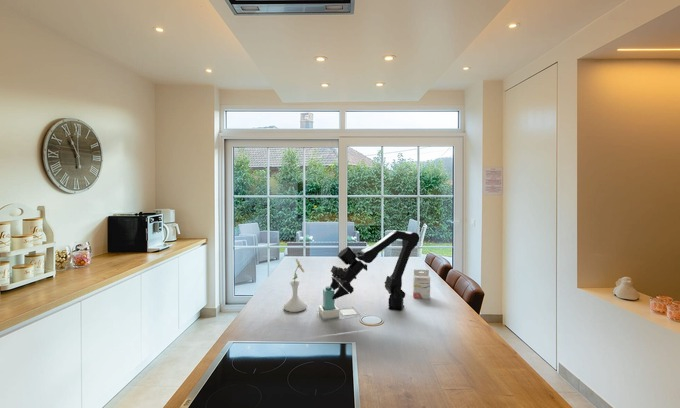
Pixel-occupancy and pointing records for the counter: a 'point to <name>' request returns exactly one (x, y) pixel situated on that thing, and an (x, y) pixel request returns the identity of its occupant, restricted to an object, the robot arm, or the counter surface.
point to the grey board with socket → (337, 313)
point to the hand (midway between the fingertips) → (330, 295)
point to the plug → (328, 298)
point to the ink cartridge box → (421, 284)
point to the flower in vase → (295, 296)
